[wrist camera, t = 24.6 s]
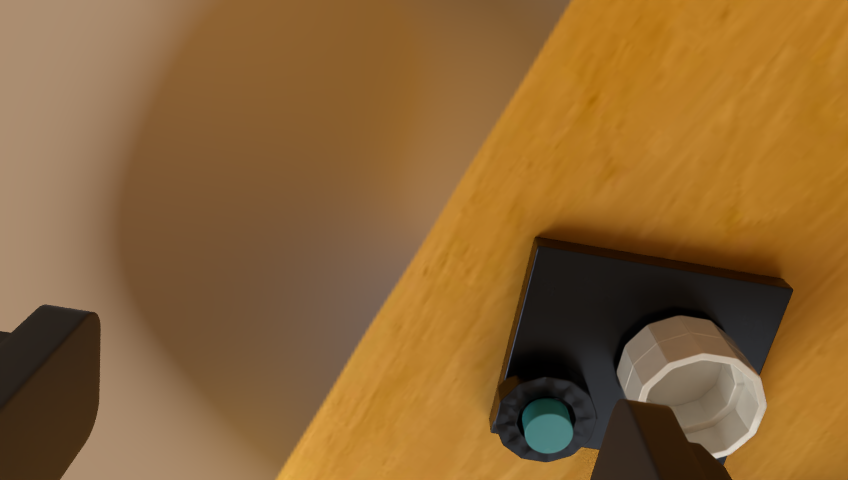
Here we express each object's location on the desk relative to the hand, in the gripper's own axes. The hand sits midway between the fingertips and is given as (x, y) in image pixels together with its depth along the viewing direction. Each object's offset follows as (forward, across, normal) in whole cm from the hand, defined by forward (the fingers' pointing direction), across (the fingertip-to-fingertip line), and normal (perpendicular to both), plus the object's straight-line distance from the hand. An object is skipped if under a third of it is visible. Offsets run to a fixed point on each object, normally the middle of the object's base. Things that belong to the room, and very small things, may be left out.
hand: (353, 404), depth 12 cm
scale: (+28, -15, +13) cm, 34 cm away
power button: (+25, -10, +17) cm, 32 cm away
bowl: (+27, -17, +12) cm, 34 cm away
